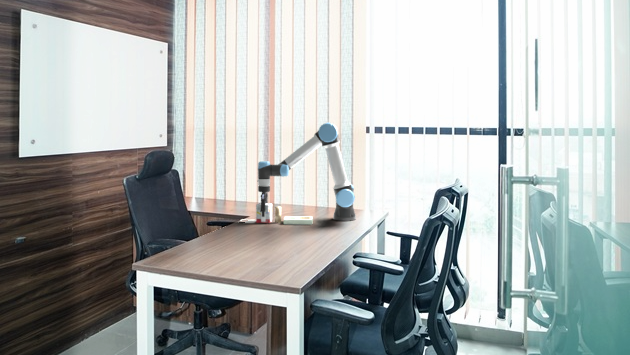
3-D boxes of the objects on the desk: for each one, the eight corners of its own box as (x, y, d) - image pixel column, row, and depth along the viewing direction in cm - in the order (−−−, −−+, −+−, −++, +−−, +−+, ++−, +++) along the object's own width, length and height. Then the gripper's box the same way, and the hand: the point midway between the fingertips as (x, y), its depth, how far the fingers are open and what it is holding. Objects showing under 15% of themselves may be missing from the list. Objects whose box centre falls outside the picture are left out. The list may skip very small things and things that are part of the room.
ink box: (268, 223, 307) (268, 204, 306) (255, 222, 308) (255, 204, 307) (272, 220, 315) (272, 202, 314) (260, 220, 317) (259, 202, 316)
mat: (256, 220, 318) (256, 219, 318) (254, 223, 308) (254, 222, 308) (241, 220, 318) (241, 219, 318) (238, 222, 308) (238, 222, 308)
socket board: (312, 221, 315) (312, 216, 315) (312, 224, 303) (312, 219, 303) (285, 220, 316) (285, 216, 315) (283, 224, 304) (283, 219, 303)
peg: (281, 222, 312) (281, 206, 311) (280, 223, 308) (280, 207, 307) (275, 221, 312) (275, 206, 311) (274, 223, 308) (274, 207, 307)
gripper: (260, 183, 320) (260, 217, 323) (255, 187, 299) (256, 223, 301) (271, 183, 320) (271, 217, 322) (268, 187, 298) (268, 223, 301)
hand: (264, 220), depth 312 cm, fingers closed on ink box, 9 cm apart
